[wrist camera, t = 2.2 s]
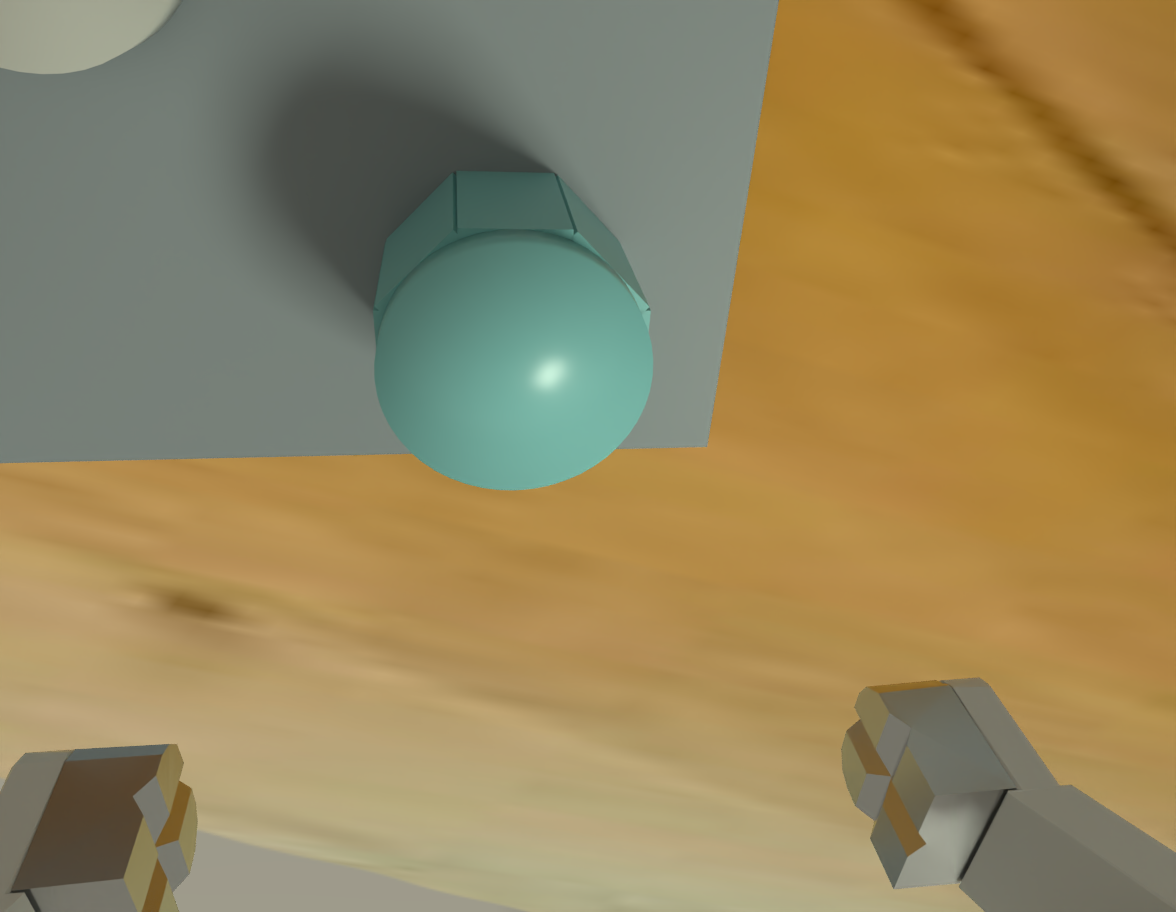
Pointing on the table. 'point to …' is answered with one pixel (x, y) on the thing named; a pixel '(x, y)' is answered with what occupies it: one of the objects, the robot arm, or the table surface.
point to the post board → (335, 199)
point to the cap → (509, 332)
